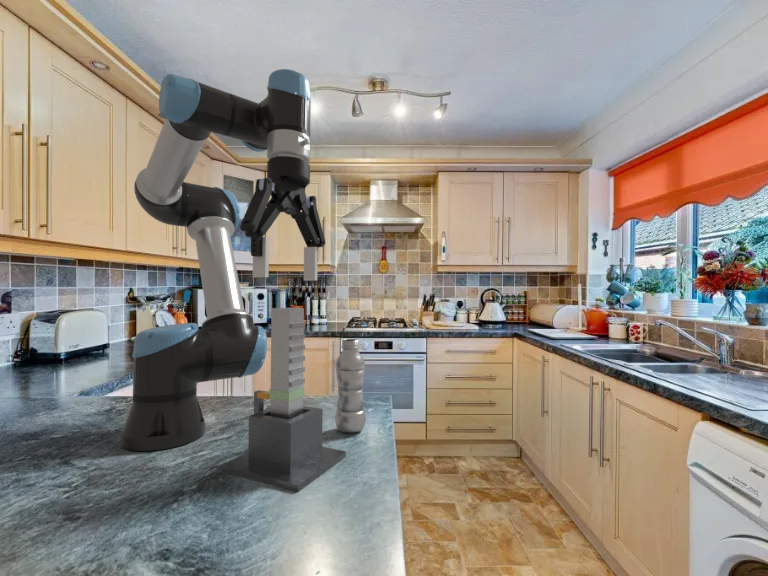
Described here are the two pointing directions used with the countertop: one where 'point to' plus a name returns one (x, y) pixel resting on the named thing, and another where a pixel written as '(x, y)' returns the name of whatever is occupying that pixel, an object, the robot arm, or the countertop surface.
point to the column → (287, 362)
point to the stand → (284, 448)
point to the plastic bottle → (350, 388)
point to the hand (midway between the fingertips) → (287, 279)
